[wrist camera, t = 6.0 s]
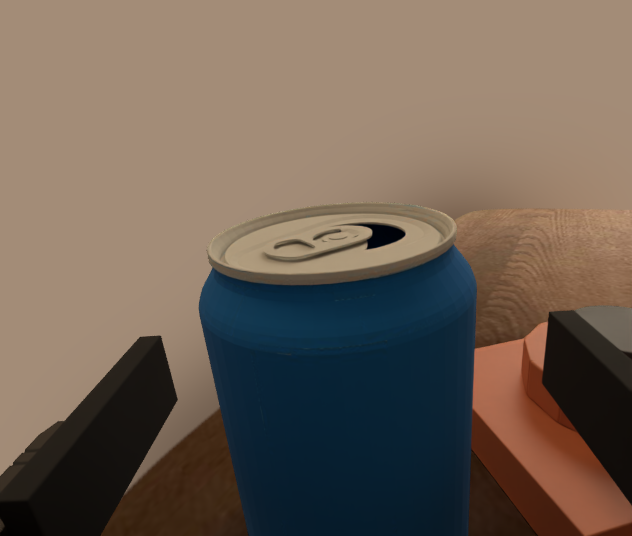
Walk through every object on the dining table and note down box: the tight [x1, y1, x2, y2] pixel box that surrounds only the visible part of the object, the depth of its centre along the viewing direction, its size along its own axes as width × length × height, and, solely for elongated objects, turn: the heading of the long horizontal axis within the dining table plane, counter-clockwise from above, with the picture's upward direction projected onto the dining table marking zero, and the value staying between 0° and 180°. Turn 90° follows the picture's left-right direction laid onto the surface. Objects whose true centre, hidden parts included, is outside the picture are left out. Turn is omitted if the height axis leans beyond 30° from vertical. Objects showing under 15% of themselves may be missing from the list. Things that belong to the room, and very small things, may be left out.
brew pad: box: [471, 322, 632, 536], centre depth 18 cm, size 12×10×4 cm
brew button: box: [575, 306, 632, 360], centre depth 17 cm, size 4×4×2 cm
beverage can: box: [199, 202, 477, 536], centre depth 12 cm, size 6×6×12 cm
